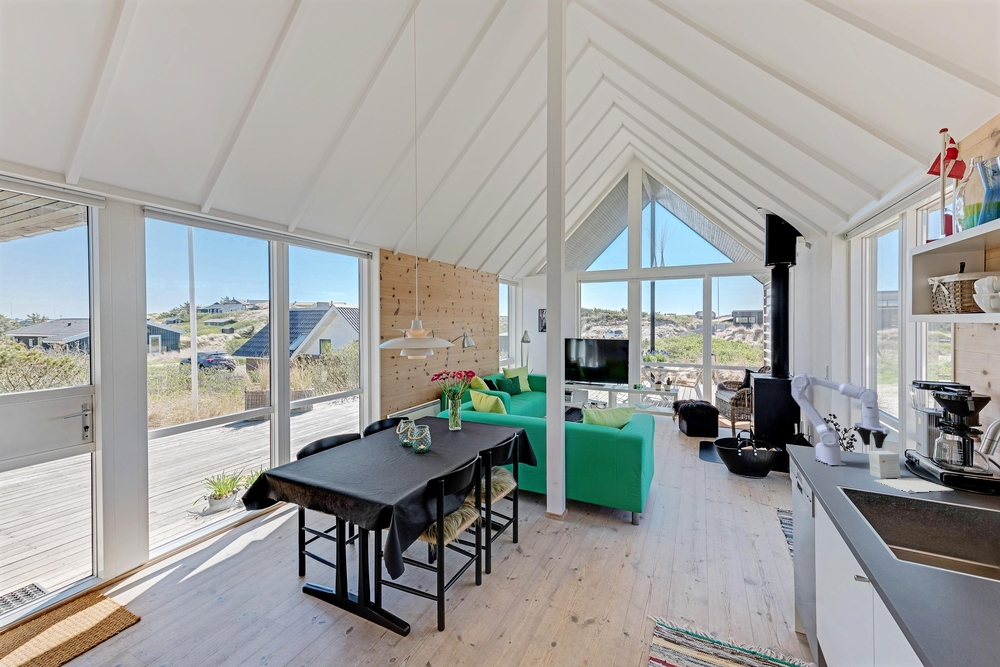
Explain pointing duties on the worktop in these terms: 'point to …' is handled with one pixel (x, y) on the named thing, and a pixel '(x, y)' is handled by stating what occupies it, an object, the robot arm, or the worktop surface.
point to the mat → (913, 485)
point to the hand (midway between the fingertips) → (872, 446)
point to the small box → (884, 464)
